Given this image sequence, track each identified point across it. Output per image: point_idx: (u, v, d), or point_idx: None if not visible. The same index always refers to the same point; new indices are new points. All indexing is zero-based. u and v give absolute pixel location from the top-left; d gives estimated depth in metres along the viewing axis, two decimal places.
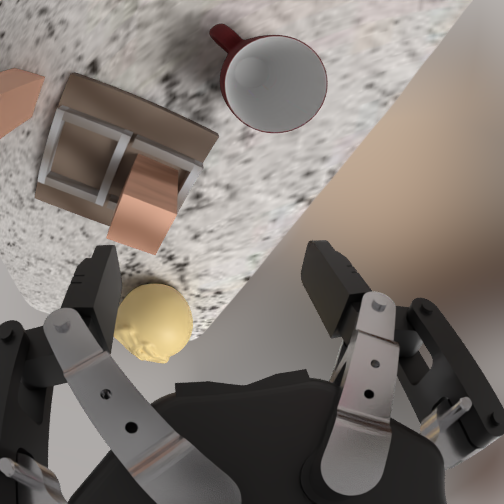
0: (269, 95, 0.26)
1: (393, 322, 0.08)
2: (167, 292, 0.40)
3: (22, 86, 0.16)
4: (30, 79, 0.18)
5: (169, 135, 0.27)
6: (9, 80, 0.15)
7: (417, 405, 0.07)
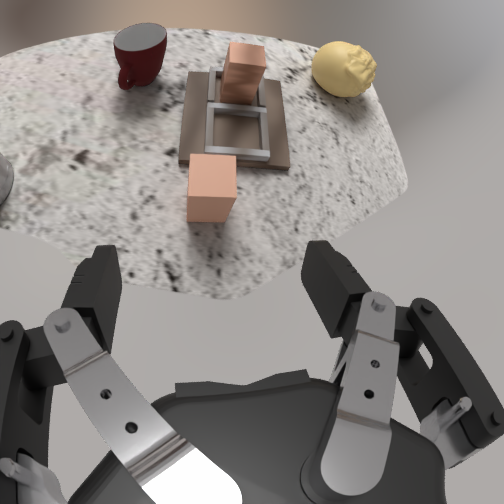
0: None
1: (393, 322, 0.08)
2: (312, 66, 0.44)
3: None
4: None
5: (199, 91, 0.40)
6: None
7: (417, 405, 0.07)
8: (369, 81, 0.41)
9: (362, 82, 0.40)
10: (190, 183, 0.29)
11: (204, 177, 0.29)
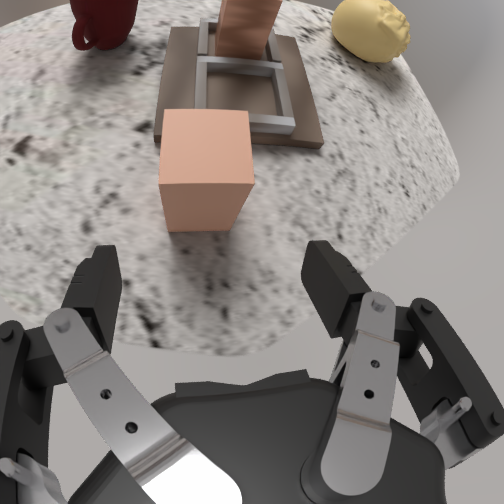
0: None
1: (393, 322, 0.08)
2: (333, 23, 0.30)
3: None
4: None
5: (186, 46, 0.26)
6: None
7: (417, 405, 0.07)
8: (407, 41, 0.27)
9: (401, 39, 0.26)
10: (163, 160, 0.14)
11: (190, 149, 0.15)
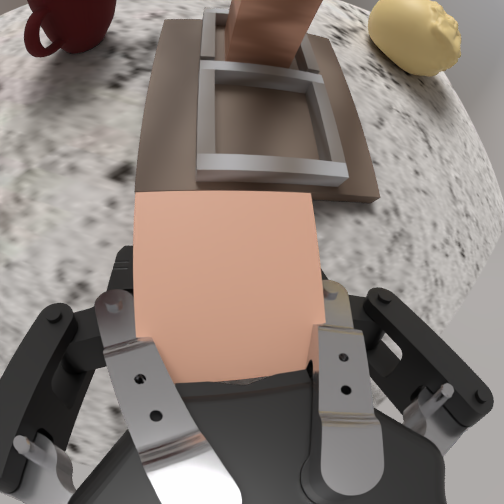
0: None
1: (342, 310, 0.08)
2: (372, 23, 0.22)
3: None
4: None
5: (184, 46, 0.18)
6: None
7: (393, 396, 0.08)
8: (459, 54, 0.20)
9: (457, 52, 0.18)
10: (143, 330, 0.07)
11: (198, 301, 0.07)
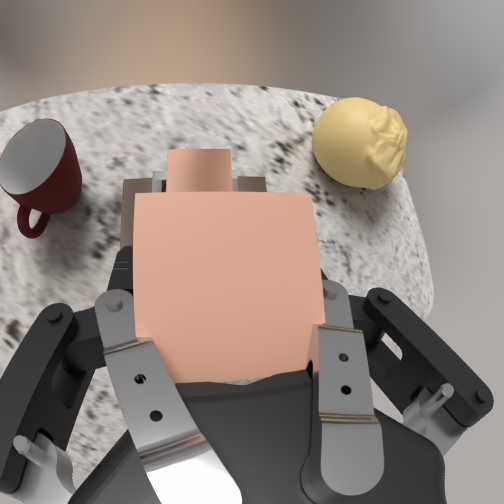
0: None
1: (342, 310, 0.08)
2: (313, 142, 0.33)
3: None
4: None
5: None
6: None
7: (393, 396, 0.08)
8: (399, 168, 0.30)
9: (391, 177, 0.28)
10: (143, 331, 0.07)
11: (198, 302, 0.07)
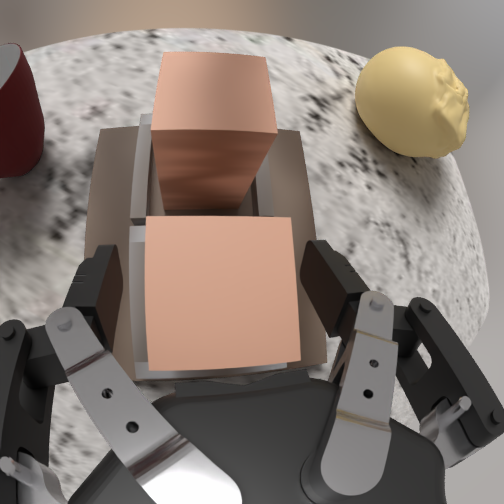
0: None
1: (391, 321, 0.08)
2: (360, 94, 0.22)
3: None
4: None
5: (119, 181, 0.18)
6: None
7: (416, 405, 0.07)
8: None
9: (462, 140, 0.18)
10: (151, 327, 0.08)
11: (196, 305, 0.09)
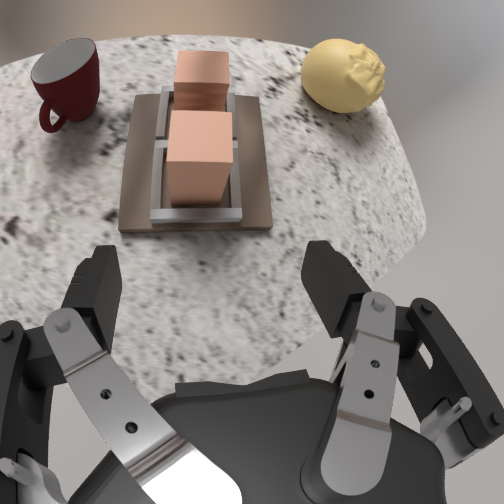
0: None
1: (393, 322, 0.08)
2: (301, 73, 0.34)
3: None
4: None
5: (148, 122, 0.30)
6: None
7: (417, 405, 0.07)
8: (378, 92, 0.31)
9: (370, 94, 0.30)
10: (170, 145, 0.20)
11: (189, 138, 0.21)
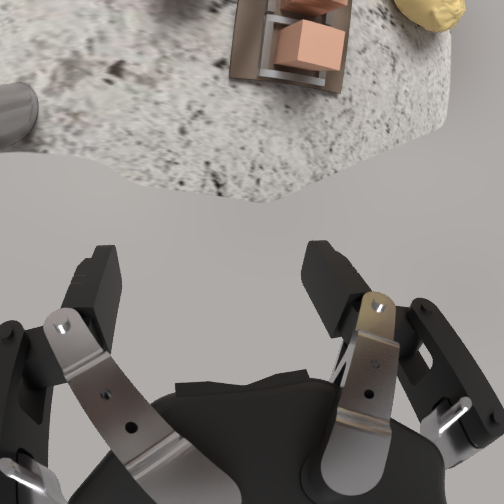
0: None
1: (393, 322, 0.08)
2: None
3: (292, 25, 0.25)
4: (283, 32, 0.27)
5: None
6: (288, 39, 0.26)
7: (417, 405, 0.07)
8: (450, 28, 0.24)
9: (443, 30, 0.24)
10: (300, 48, 0.24)
11: (314, 46, 0.24)
